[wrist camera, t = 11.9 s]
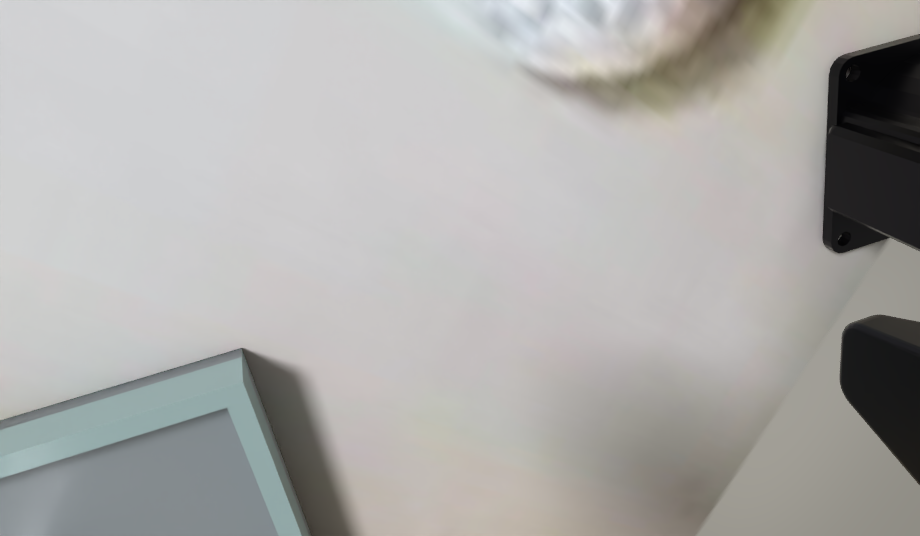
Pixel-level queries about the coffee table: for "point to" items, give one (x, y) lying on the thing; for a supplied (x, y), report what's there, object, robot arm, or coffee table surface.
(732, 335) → the coffee table surface
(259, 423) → the tray
